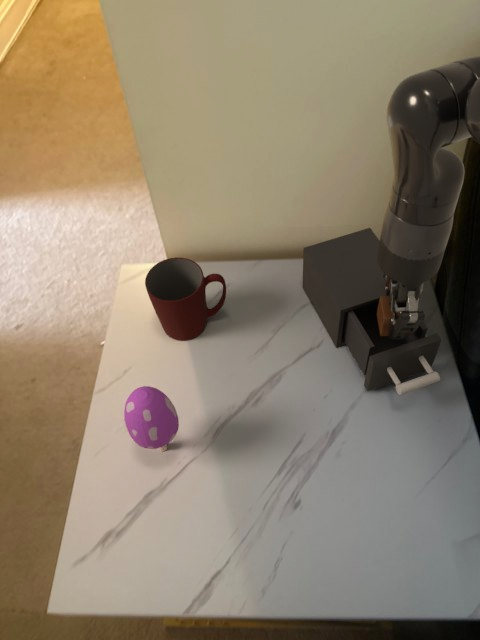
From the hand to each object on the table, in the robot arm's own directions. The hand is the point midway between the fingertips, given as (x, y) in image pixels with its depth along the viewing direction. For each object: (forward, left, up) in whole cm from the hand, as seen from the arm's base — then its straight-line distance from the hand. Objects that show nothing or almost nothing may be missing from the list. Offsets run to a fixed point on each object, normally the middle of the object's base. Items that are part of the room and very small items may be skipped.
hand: (393, 323), depth 79 cm
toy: (+9, +35, -10) cm, 37 cm away
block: (0, 0, 0) cm, 0 cm away
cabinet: (+11, -3, -10) cm, 15 cm away
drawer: (0, 0, -9) cm, 9 cm away
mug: (+25, +19, -10) cm, 33 cm away
